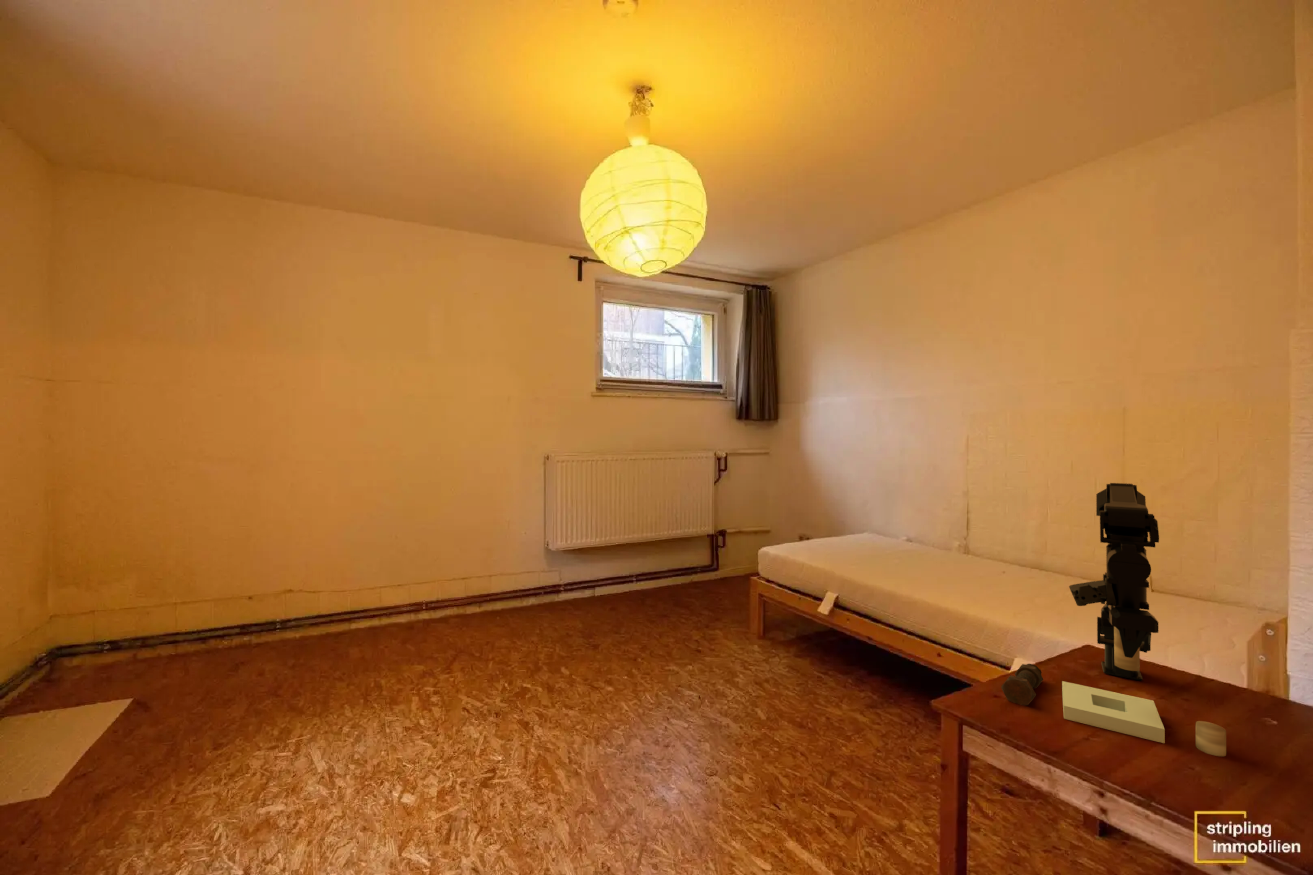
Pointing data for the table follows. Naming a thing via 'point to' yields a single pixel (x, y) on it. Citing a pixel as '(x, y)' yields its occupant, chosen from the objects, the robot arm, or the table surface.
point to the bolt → (1022, 684)
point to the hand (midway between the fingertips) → (1126, 653)
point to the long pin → (1120, 658)
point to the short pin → (1210, 738)
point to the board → (1112, 711)
